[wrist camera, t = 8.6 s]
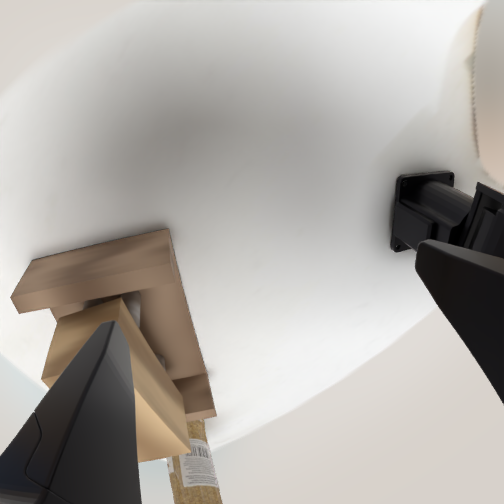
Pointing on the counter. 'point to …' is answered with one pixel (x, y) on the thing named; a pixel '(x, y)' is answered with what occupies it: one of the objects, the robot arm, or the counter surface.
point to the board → (144, 379)
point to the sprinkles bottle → (194, 470)
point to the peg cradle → (128, 302)
